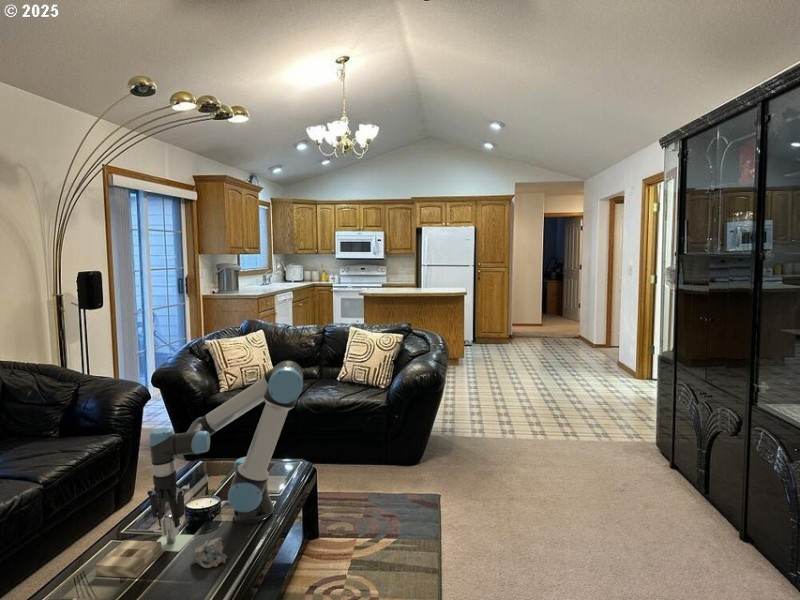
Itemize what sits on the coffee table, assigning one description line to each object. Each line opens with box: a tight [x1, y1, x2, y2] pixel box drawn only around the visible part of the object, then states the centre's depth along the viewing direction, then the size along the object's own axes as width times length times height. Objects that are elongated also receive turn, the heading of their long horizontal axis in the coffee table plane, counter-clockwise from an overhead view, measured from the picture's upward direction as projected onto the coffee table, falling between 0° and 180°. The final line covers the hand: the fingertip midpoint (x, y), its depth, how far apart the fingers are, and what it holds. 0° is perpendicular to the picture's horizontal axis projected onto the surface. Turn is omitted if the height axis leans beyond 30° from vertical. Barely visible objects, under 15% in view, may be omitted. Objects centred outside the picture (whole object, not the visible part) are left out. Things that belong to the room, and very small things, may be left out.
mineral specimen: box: [193, 537, 228, 569], centre depth 170 cm, size 10×8×10 cm
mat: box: [156, 533, 195, 552], centre depth 182 cm, size 12×10×1 cm
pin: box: [164, 513, 176, 545], centre depth 181 cm, size 3×3×10 cm
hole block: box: [95, 539, 163, 578], centre depth 170 cm, size 14×14×4 cm
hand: (170, 535), depth 182 cm, fingers open, 3 cm apart
